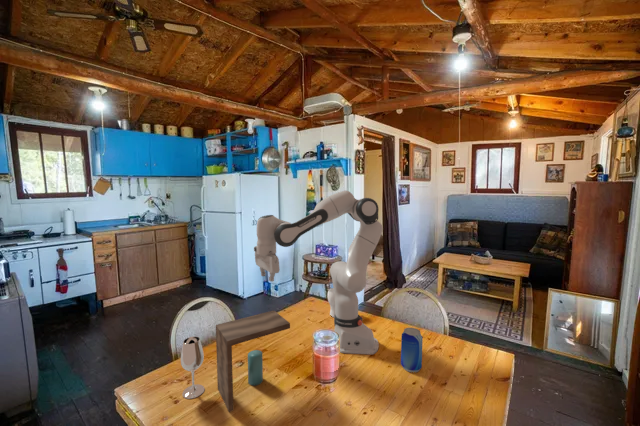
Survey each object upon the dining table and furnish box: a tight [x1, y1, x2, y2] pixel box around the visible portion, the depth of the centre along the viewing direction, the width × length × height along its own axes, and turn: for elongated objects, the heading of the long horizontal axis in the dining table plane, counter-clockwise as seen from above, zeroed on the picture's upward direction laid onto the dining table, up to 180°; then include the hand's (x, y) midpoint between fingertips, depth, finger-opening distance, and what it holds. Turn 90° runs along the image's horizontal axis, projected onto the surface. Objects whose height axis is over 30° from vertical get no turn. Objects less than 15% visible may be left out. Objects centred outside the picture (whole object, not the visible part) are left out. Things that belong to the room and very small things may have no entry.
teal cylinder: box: [247, 349, 264, 387], centre depth 116 cm, size 6×6×11 cm
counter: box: [215, 310, 291, 413], centre depth 111 cm, size 14×24×25 cm, turn 124°
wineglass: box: [180, 336, 205, 400], centre depth 109 cm, size 8×8×20 cm
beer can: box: [400, 327, 424, 373], centre depth 124 cm, size 8×8×16 cm
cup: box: [326, 287, 335, 318], centre depth 176 cm, size 11×11×15 cm
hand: (267, 278), depth 140 cm, fingers open, 8 cm apart
